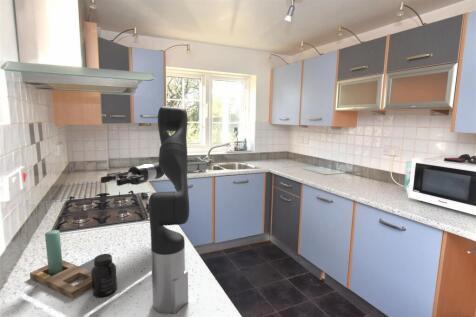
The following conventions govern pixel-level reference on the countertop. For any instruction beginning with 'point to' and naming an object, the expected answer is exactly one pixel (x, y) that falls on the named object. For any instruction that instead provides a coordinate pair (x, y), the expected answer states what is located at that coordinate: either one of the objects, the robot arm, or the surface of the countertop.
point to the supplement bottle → (103, 276)
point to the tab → (88, 265)
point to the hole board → (64, 279)
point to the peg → (54, 252)
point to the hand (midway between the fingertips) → (109, 181)
